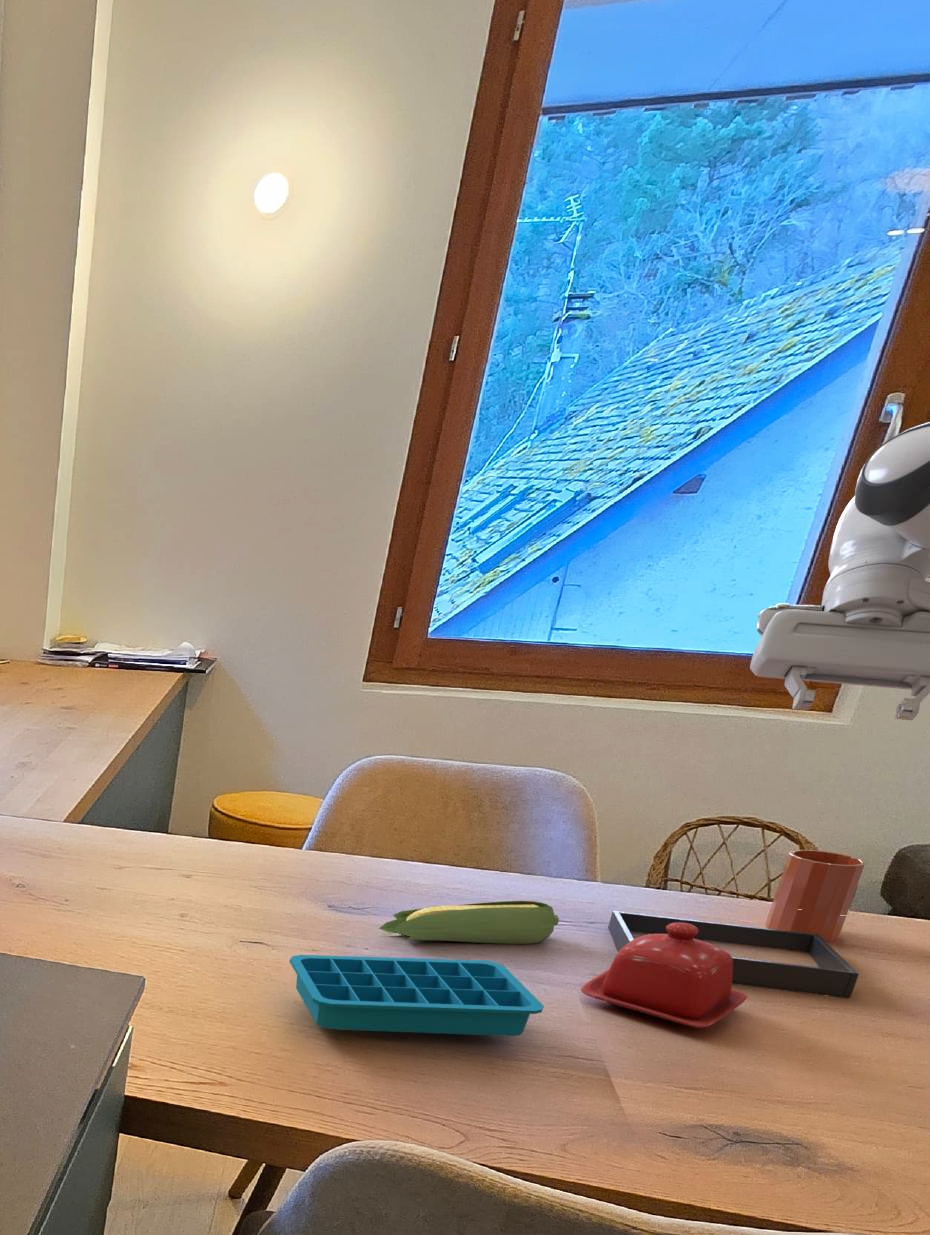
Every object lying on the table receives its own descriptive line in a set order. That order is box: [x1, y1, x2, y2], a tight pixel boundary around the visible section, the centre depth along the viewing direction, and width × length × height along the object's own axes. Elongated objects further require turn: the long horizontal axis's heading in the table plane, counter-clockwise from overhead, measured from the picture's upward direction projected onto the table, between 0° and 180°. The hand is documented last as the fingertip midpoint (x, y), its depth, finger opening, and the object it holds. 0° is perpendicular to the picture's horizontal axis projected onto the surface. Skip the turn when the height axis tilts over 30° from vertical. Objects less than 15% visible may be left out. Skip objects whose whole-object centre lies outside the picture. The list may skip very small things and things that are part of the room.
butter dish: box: [580, 922, 748, 1029], centre depth 114 cm, size 12×12×8 cm
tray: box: [607, 910, 860, 999], centre depth 126 cm, size 19×13×3 cm
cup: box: [764, 849, 867, 943], centre depth 132 cm, size 7×7×10 cm
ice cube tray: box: [289, 954, 545, 1037], centre depth 113 cm, size 12×20×3 cm, turn 83°
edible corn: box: [378, 900, 560, 945], centre depth 133 cm, size 5×20×5 cm, turn 89°
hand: (853, 711), depth 133 cm, fingers open, 8 cm apart
